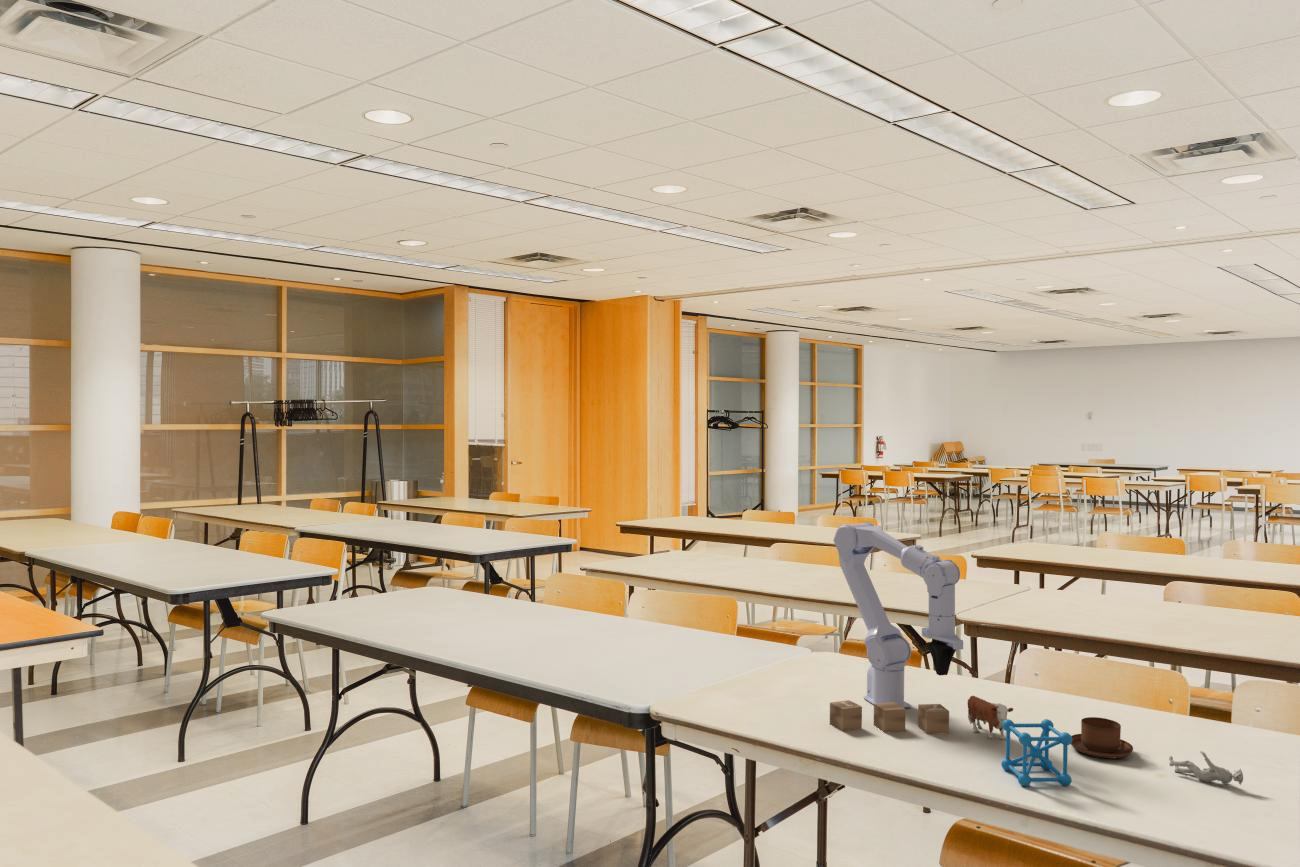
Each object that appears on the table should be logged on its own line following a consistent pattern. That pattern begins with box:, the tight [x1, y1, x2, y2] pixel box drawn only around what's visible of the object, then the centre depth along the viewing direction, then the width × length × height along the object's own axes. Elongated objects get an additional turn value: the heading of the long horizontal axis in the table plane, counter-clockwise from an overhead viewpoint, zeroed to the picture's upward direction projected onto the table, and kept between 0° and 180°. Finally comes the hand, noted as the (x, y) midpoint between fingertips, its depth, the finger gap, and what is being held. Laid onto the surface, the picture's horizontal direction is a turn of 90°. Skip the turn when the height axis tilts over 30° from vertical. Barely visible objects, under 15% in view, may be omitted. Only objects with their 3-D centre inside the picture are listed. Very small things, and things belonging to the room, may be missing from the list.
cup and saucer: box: [1070, 716, 1134, 759], centre depth 196 cm, size 12×12×6 cm
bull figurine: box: [967, 695, 1014, 741], centre depth 205 cm, size 4×13×8 cm, turn 16°
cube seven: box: [917, 703, 950, 735], centre depth 208 cm, size 5×5×5 cm
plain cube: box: [873, 702, 907, 734], centre depth 209 cm, size 5×5×5 cm
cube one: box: [829, 699, 863, 732], centre depth 210 cm, size 5×5×5 cm
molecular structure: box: [1000, 718, 1073, 787], centre depth 181 cm, size 10×10×10 cm
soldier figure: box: [1168, 750, 1244, 786], centre depth 180 cm, size 8×5×12 cm
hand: (941, 674), depth 215 cm, fingers closed
